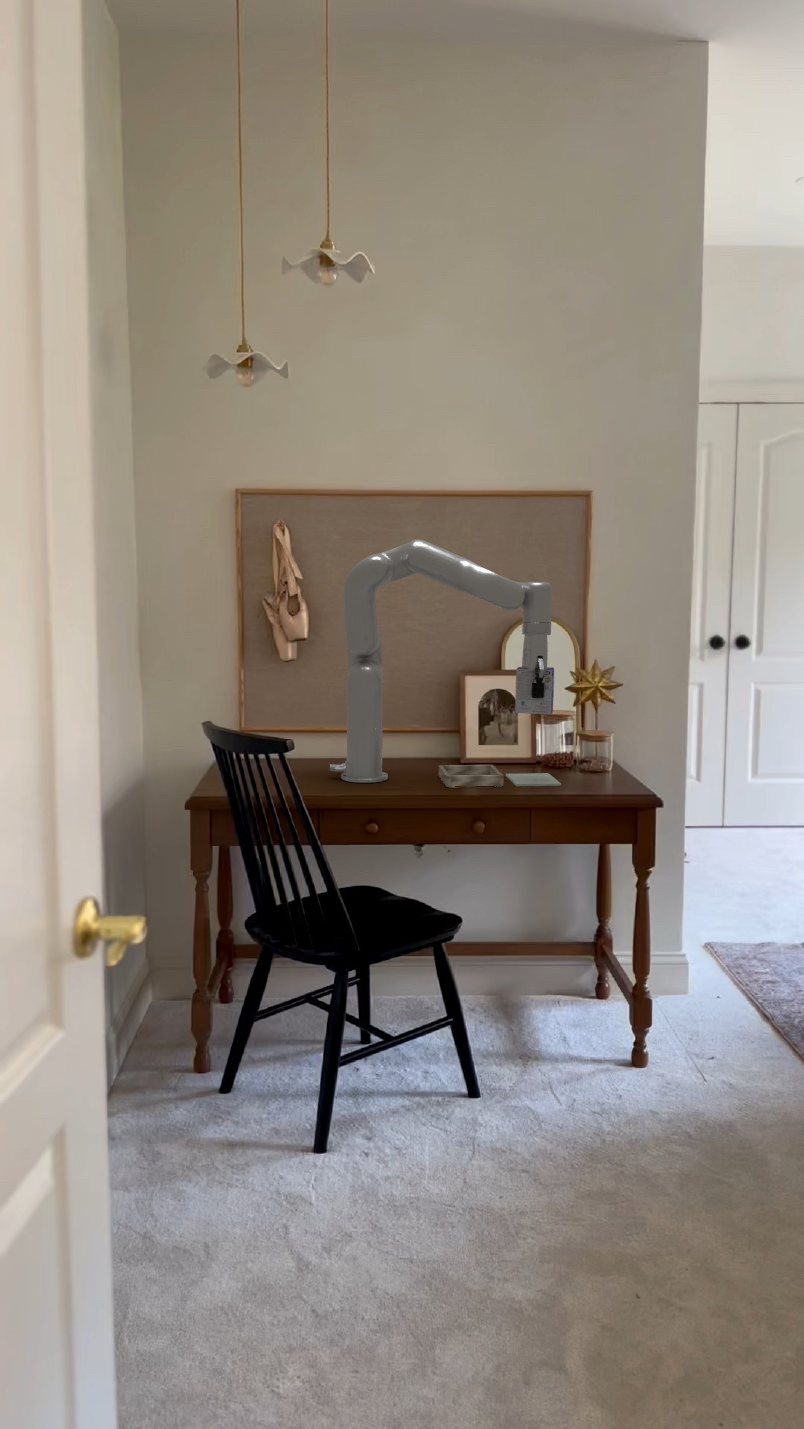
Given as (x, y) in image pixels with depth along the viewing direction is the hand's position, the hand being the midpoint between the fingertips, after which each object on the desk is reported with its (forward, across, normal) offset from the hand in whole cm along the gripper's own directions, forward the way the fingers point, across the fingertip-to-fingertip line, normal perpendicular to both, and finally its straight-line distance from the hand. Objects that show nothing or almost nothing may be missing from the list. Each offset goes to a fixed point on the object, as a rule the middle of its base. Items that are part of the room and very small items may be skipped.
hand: (534, 695), depth 292 cm
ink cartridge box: (+5, 0, 0) cm, 5 cm away
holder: (+23, 0, -17) cm, 29 cm away
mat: (+23, 0, 0) cm, 23 cm away
